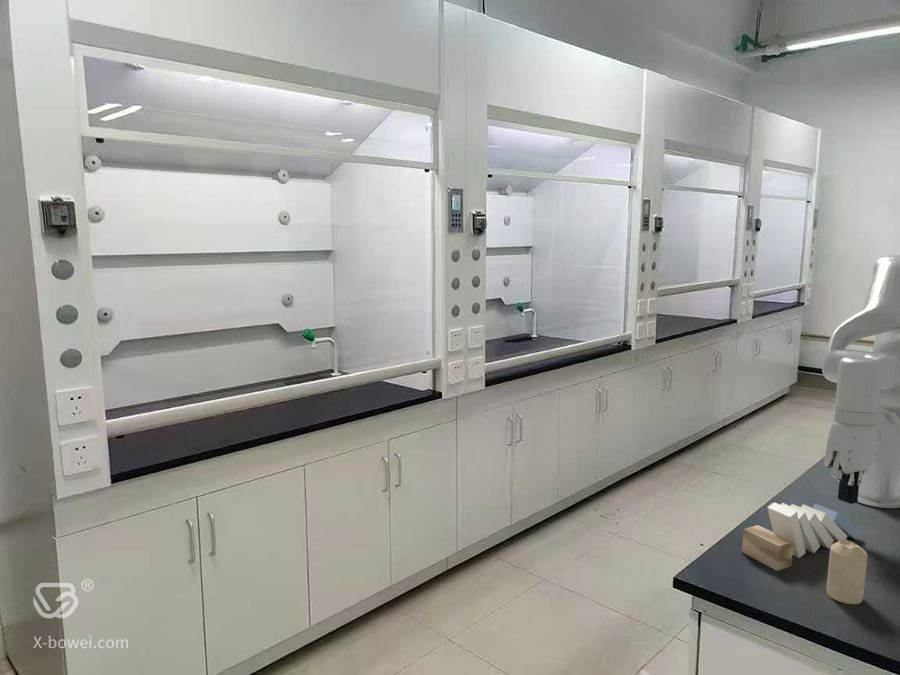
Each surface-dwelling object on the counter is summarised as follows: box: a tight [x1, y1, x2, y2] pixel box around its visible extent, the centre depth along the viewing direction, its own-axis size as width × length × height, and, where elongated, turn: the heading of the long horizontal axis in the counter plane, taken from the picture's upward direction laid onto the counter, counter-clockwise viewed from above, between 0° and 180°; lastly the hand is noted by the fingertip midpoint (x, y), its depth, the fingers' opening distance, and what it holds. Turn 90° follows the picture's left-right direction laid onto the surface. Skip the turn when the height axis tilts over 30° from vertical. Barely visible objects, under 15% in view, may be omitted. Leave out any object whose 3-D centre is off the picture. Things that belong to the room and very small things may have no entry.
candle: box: [826, 538, 869, 605], centre depth 111 cm, size 6×6×10 cm
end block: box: [741, 524, 793, 571], centre depth 124 cm, size 4×8×5 cm, turn 25°
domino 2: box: [780, 502, 821, 554], centre depth 127 cm, size 2×5×10 cm
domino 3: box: [790, 503, 835, 550], centre depth 129 cm, size 2×5×10 cm
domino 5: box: [812, 503, 861, 541], centre depth 132 cm, size 2×5×10 cm
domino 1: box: [767, 501, 806, 559], centre depth 126 cm, size 2×5×10 cm, turn 25°
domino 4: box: [800, 504, 848, 543], centre depth 130 cm, size 2×5×10 cm
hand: (847, 500), depth 133 cm, fingers closed
